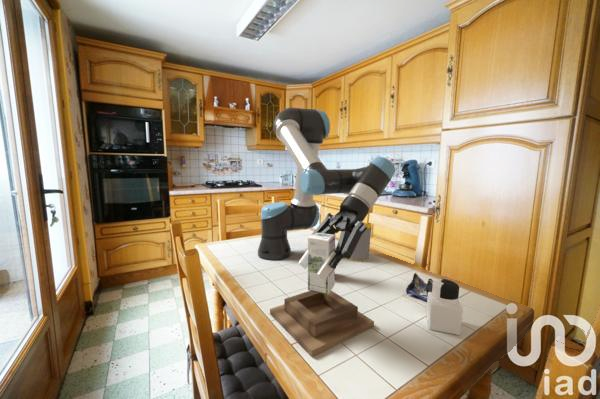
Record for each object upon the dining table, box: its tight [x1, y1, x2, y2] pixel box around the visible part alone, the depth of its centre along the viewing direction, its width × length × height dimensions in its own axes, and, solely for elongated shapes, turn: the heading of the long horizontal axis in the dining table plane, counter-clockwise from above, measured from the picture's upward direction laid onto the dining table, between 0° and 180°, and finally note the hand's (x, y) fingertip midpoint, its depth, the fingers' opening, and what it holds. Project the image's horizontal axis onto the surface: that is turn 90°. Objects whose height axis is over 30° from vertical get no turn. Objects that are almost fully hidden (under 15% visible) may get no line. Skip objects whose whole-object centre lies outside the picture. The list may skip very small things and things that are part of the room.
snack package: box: [405, 272, 434, 303], centre depth 88 cm, size 12×6×12 cm
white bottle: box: [425, 278, 464, 336], centre depth 70 cm, size 7×7×12 cm
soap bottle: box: [344, 221, 372, 262], centre depth 120 cm, size 13×13×21 cm
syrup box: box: [307, 232, 336, 294], centre depth 70 cm, size 6×6×14 cm
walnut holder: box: [269, 290, 375, 358], centre depth 73 cm, size 20×20×5 cm
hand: (310, 271), depth 69 cm, fingers closed on syrup box, 8 cm apart
